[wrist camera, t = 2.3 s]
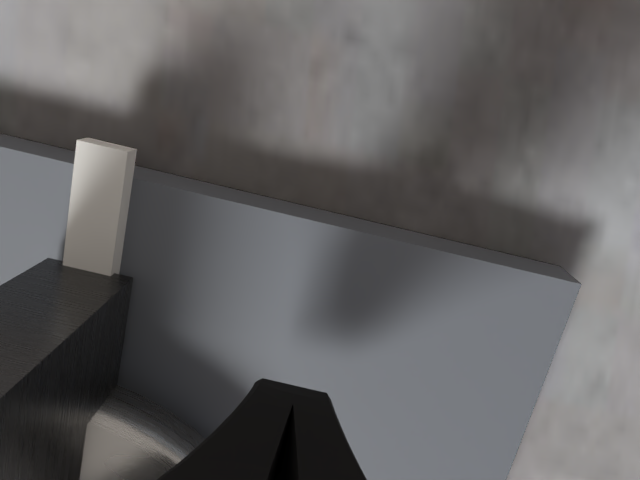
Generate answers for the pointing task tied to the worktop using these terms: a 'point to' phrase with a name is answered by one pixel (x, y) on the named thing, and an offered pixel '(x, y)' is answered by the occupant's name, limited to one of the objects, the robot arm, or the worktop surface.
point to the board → (297, 307)
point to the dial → (76, 383)
